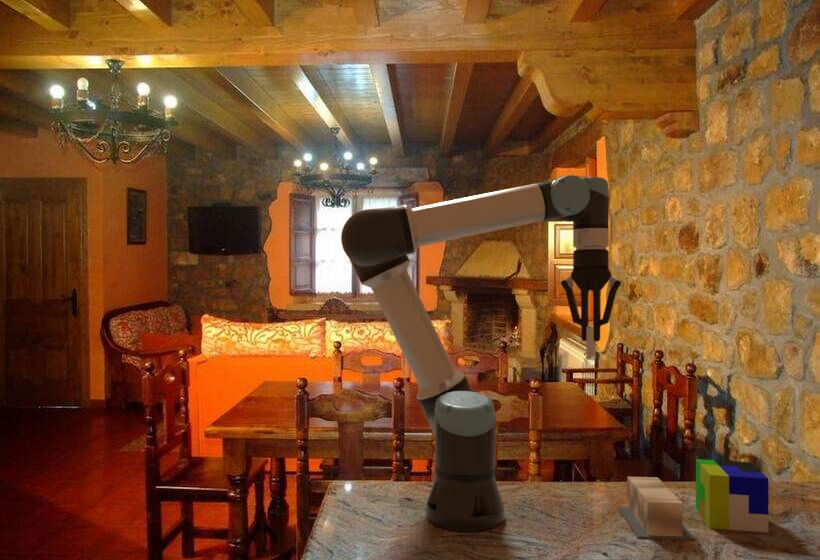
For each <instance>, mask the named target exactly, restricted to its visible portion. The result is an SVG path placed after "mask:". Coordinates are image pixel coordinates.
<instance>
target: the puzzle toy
mask: <svg viewBox="0 0 820 560" xmlns="http://www.w3.org/2000/svg"><path fill="white" fill-rule="evenodd" d="M769 492H770V491H769V478H768V476H766V475H765V474H764V473H763V472H762V471H761V470H760V469H758V468H757V467H756V466H755V465H754V464H752V462H750V461H735V460H734V461H733V460H716V459H697V458H696V459H695V509H696V511H697V510H698V511H697V512H698V513H699V515H700V517H701V518H702V519H703V521H704V522H705V524H706V525H707V527H708V528H709V529H718V530H728V531H729V530H730V531H741V532H742V531H744V532H758V533H769V494H770V493H769Z"/></svg>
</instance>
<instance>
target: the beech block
mask: <svg viewBox="0 0 820 560" xmlns="http://www.w3.org/2000/svg"><path fill="white" fill-rule="evenodd" d="M626 479H627V481H626V482H627V484H626V485H627V487H626V488H627V494H626V495H627V497H626V499H627V501H626V503H627V505H626V507H628V508H629V509H630V511H631V512H632V513H633V515H634V516H635V518H636V519H637V520H638V522H639V523H640V525H641V526H642V527H643V529H644V530H645V532H646V533H647V535H652V536H682V537H683V525H684V523H683V522H684V521H683V518H684V517H683V514H684V513H683V501H681V500H680V499H679V498H678V497H677V496H676V495H675V493H673V492H672V491H671V490H670V488H669V487H667V485H666V484H665V483H664V482H663V481H662V480H661V479H660V478H659V477H657V476H656V477H655V476H652V477H651V476H649V477H648V476H627V478H626Z"/></svg>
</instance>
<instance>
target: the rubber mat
mask: <svg viewBox="0 0 820 560" xmlns="http://www.w3.org/2000/svg"><path fill="white" fill-rule="evenodd" d="M617 509H618V511H619V512H620V514H621V515H622V517H623V519H624V520H625V521H626V523H627V524H628V526H629V527H630V529H631V530H632V532H633V533H634V535H635V537H636V538H637V539H650V540H651V539H652V540H653V539H654V540H681V541H682V540H683V541H695V540H696V537H694V535H693V533H692V532H690V531H689V530H688V528H687V527H686V526H685V525H684V524H683V537H682V536H652V535H647V533H646V532H645V530H644V529H643V527H642V526H641V525H640V523H639V522H638V520H637V519H636V518H635V516H634V515H633V513H632V512H631V511H630V509H629V508H628V506H625V507H624V506H617Z"/></svg>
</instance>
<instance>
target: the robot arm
mask: <svg viewBox="0 0 820 560" xmlns="http://www.w3.org/2000/svg"><path fill="white" fill-rule="evenodd" d="M609 213H610V191H609V182H608V180H607V179H606V178H604V177H598V176H590V177H589V176H588V177H586V176H585V177H580V176H578V175H574V174H568V175H563V176H559V177H558V178H556V179H552V180H547V181H541V182H539V183H532V184H526V185H522V186H516V187H511V188H507V189H502V190H497V191H492V192H486V193H482V194H477V195H472V196H471V195H470V196H467V197H462V198H456V199H453V200H448V201H442V202H437V203H433V204H427V205H423V206H418V207H417V206H416V207H413V208H412V207H410V206H409V205H407V204H400V205H396V206H395V205H394V206H389V207H381V208H380V207H379V208H370V209H369V208H368V209H363V210H360V211H357V212H355V213H354V214H352V215H351V216H350V217H349V218H348V219H347V220H346V222H345V224H344V225H343V228H342V230H341V235H340V236H341V237H340V241H341V246H342V249H343V251H344V254H345V255H346V256H347V257H348V259H349V261H350V264H351V265H352V267H353V270H354V271H355V273H356V275H357V278H358V280H359V283H361V285H362V286H365V287H368V288H370V289H371V290H372V292H373V294H374V297H375V299H376V300H377V302H378V305H379V307H380V309H381V311H382V313H383V315H384V317H385V319H386V321H387V324H388V325H389V327H390V329H391V332H392V335H393V336H394V337H395V339H396V342H397V343H398V346H399V348H400V350H401V352H402V355H403V356H404V358H405V360H406V362H407V365H408V367H409V368H410V371H411V373H412V375H413V377H414V379H415V381H416V384H417V385H418V391H417V393H416V399H417V402H418V403H419V405H420V407H421V409H422V411H423V413H424V416H425V418H426V420H427V423H428V424H429V427H430V429H431V430H432V433H433V436H434V447H435V448H434V449H435V451H434V455H435V457H434V458H435V459H434V464H435V466H434V467H435V468H434V470H435V476H434V480H433V481H432V482H433V483H432V485H431V488H430V492H429V495H428V498H427V501H426V512H425V513H426V518H427V520H428V522H430V523H431V524H433V525H434V526H436V527H439V528H442V529H444V530H449V531H454V532H455V531H456V532H481V531H486V530H491V529H493V528H497V527H498V526H499V525H501V524H502V523H503V522H504V519H505V505H504V502H503V500H502V496H501V493H500V490H499V487H498V484H497V481H496V473H495V472H496V471H495V470H496V469H495V467H496V451H495V450H496V422H497V421H496V418H497V415H496V412H495V411H496V409H495V405H494V402H493V400H492V399H491V398H490V397H489V396H487V395H485V394H482V393H479V392H476V391H473V389H472V387H471V385H470V383H469V379H468V378H467V377H466V375H465V373H464V372H462V371H460V370H456V369H455V367H454V365H453V364H452V363H453V362H452V361H451V359H450V357H449V355H448V353H447V351H446V349H445V346H444V345H443V343H442V341H441V339H440V336H439V334H438V331H437V330H436V328H435V326H434V324H433V321H432V319H431V318H430V316H429V314H428V311H427V309H426V307H425V305H424V303H423V301H422V298H421V297H420V295H419V292H418V290H417V289H416V287H415V284H414V283H413V281H412V278H411V276H410V274H409V272H408V268H409V265H410V263H411V260H410V259H409V256H408V255H409V254H415V253H416V252H417V250H418V249H419V248H420V247H423V246H430V245H432V244H437V243H442V242H447V241H452V240H456V239H462V238H467V237H471V236H472V237H473V236H477V235H481V234H486V233H490V232H491V233H492V232H496V231H499V230H505V229H509V228H514V227H519V226H524V225H528V224H534V223H535V224H536V223H539V222H540V223H545V222H546V223H547V222H548V223H549V222H550V223H555V222H558V223H559V222H560V223H561V222H566V223H567V222H568V223H569V222H570V223H571V222H572V224H573V225H572V228H573V229H572V230H573V231H572V232H573V234H572V246H573V248H575V250H573V253H572V257H573V258H572V259H573V261H572V262H573V263H572V264H573V266H572V267H573V268H572V271H571V273H570V276H569V277H567V278H566V279H565V280H563V279H562V280H561V281H560V285H561V286H562V288H563V290H564V291H565V294H566V297H567V303H568V306H569V310H570V311H569V312H570V315H571V318H572V322H573V323H574V324H576V325H579V326H580V327H581V341H582V342H583V341H585V342H586V350H585V351H586V353H585V354H586V357H588V358H590V357H591V358H595V356H596V342H599V341H600V340H601V327H602V326H604V325H607V324H609V322H610V320H611V315H612V311H613V307H614V304H615V300H616V295H617V292H618V290H619V289H620V287H621V285H622V283H623V282H622V281H621V280H620V279H619V280H618V279H616V278H615V277H613V276H612V273H611V270H610V250H609V249H607V248H609V246H610V235H609V234H610V233H609V232H610V230H609V221H610V220H609V217H610V214H609ZM608 282H609V283H608ZM574 283H575V285H576V286H577V287H578V289H579V290H580V300H581V302H580V306H581V307H580V314H579V309H578V305H577V301H576V297H575V293H574V290H573V287H574ZM607 284H608V287H609V288H610V289H609V291H608V295H607V299H606V303H605V308H604V311H603V316H602V318H601V312H602V311H601V309H602V308H601V305H602V304H601V294H602V290H603V289H604V287H605V286H606V285H607ZM591 291H592V298H593V301H592V302H593V307H592V308H593V311H592V312H593V314H592V315H593V317H592V319H593V320H592V321H593V323H592V325H589V324H590V321H589V314H590V313H589V311H590V310H589V308H590V307H589V306H590V305H589V301H590V300H589V295H590V292H591Z"/></svg>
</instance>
